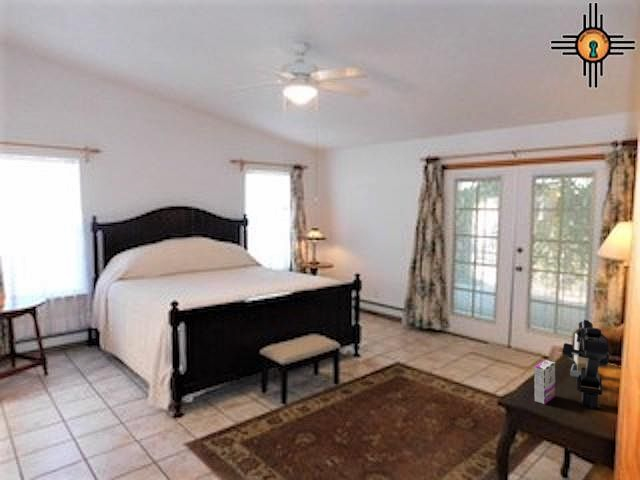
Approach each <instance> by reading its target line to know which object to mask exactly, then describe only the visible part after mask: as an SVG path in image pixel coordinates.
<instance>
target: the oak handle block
mask: <svg viewBox="0 0 640 480" xmlns="http://www.w3.org/2000/svg"><path fill="white" fill-rule="evenodd" d="M578 350H579V347H578ZM586 363H587V359H586V358H582V357H579V356H577V371H578V372H581V368H582V367H583V368H586Z"/></svg>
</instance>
